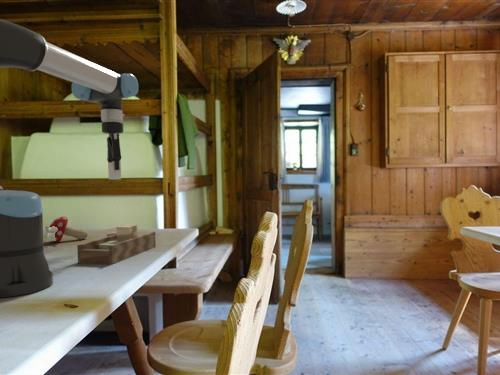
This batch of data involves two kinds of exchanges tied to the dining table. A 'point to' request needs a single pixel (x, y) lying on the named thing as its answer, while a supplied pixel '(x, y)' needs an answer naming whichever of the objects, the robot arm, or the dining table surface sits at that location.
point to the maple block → (126, 232)
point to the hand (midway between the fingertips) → (114, 179)
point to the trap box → (114, 249)
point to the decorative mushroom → (67, 229)
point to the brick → (112, 232)
